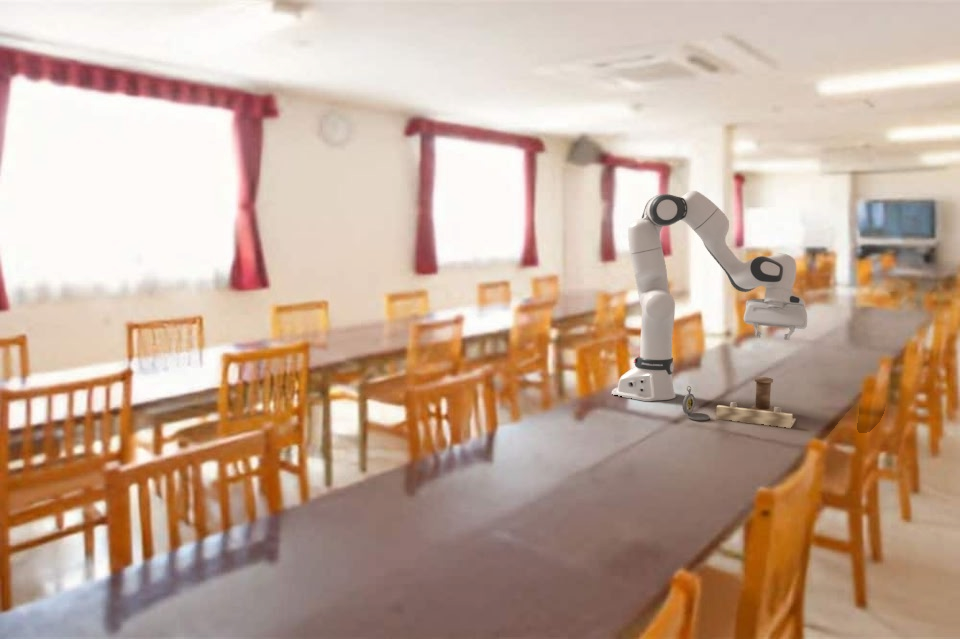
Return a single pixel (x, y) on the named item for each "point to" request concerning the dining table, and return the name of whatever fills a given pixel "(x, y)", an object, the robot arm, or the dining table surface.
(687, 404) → the pocket watch
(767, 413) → the peg rack
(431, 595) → the dining table surface
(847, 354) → the dining table surface
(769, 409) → the flanged spool
